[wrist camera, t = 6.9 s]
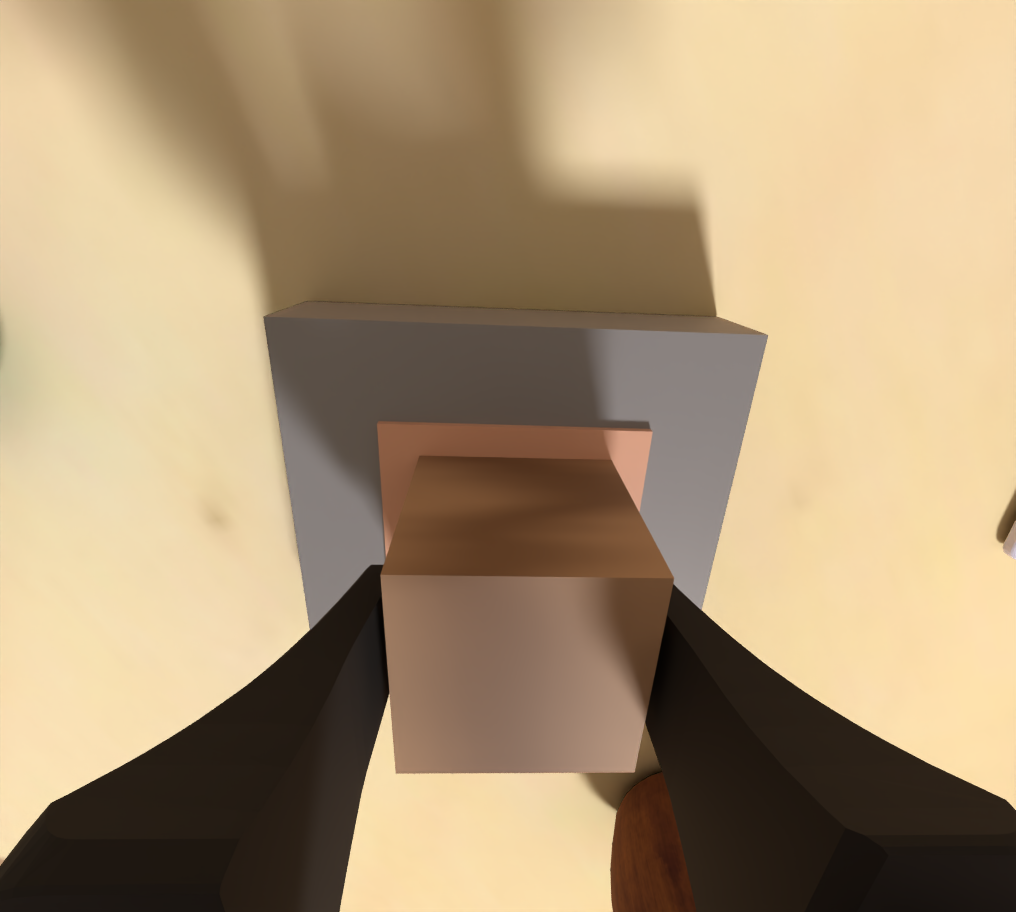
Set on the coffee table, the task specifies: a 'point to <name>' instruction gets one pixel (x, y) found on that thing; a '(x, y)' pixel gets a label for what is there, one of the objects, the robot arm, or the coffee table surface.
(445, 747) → the walnut cube
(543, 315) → the slate plinth
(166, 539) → the coffee table surface
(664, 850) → the wooden figurine
